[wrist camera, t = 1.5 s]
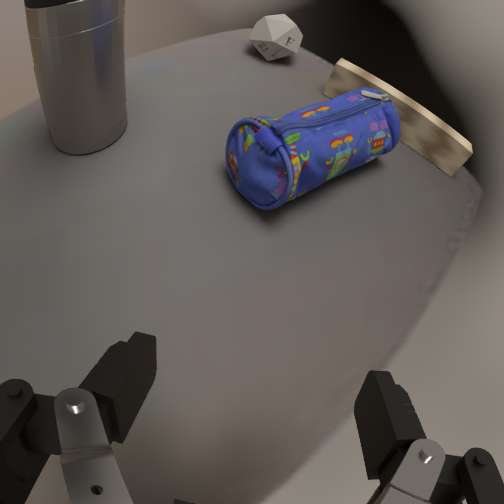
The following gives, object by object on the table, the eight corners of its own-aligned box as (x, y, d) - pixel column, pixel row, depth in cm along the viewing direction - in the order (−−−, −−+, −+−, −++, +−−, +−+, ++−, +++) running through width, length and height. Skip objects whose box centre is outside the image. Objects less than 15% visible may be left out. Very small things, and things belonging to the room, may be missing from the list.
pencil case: (343, 121, 41) (371, 69, 33) (386, 163, 39) (423, 113, 31) (212, 172, 32) (226, 96, 23) (264, 234, 29) (298, 164, 21)
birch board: (322, 94, 43) (336, 63, 38) (328, 87, 45) (341, 58, 40) (450, 177, 42) (472, 153, 37) (451, 166, 44) (471, 143, 38)
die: (237, 59, 45) (276, 34, 37) (240, 22, 45) (276, -4, 37) (275, 74, 50) (316, 55, 42) (275, 38, 50) (313, 17, 42)
